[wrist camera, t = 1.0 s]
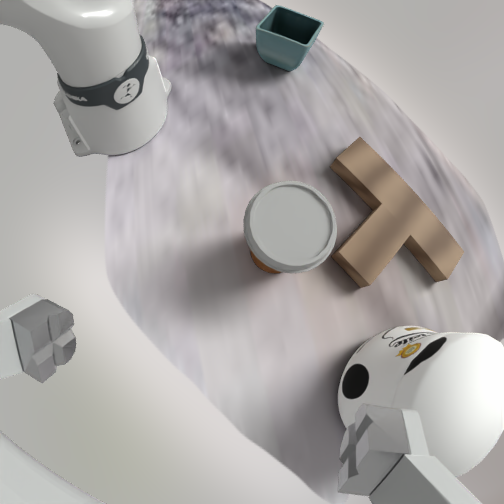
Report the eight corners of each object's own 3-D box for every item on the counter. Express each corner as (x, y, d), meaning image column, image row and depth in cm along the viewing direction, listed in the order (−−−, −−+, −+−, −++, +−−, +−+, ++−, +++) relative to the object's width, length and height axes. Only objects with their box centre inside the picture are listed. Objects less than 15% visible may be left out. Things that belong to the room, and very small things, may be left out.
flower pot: (296, 83, 49) (308, 47, 41) (249, 65, 49) (254, 27, 41) (312, 56, 51) (324, 22, 43) (269, 39, 51) (276, 4, 43)
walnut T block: (284, 208, 44) (288, 201, 41) (352, 146, 47) (359, 136, 45) (400, 331, 42) (411, 331, 39) (452, 255, 45) (464, 251, 42)
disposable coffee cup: (225, 266, 42) (227, 244, 30) (255, 203, 44) (268, 161, 32) (293, 297, 42) (321, 287, 30) (319, 233, 44) (352, 202, 32)
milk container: (408, 304, 43) (496, 289, 25) (446, 397, 40) (529, 414, 23) (308, 368, 40) (368, 395, 22) (358, 463, 37) (423, 519, 20)
